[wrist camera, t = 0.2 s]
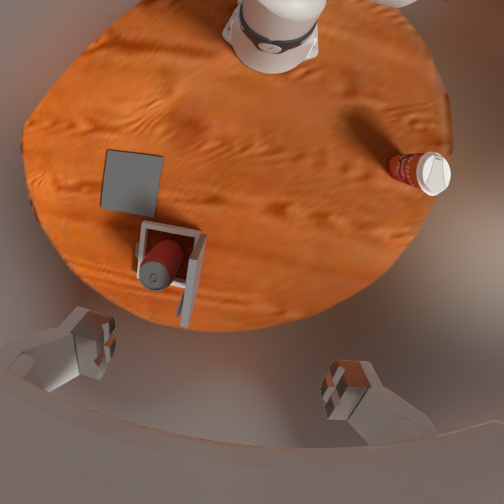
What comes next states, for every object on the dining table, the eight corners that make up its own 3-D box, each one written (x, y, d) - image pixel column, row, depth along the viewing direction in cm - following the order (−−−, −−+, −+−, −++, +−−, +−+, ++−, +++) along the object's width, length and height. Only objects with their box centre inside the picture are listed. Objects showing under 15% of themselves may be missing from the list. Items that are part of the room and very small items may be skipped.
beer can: (154, 267, 60) (137, 292, 48) (153, 237, 57) (134, 257, 46) (184, 269, 60) (173, 295, 49) (184, 238, 58) (172, 259, 47)
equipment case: (141, 219, 56) (109, 242, 41) (208, 232, 58) (197, 260, 43) (136, 273, 60) (108, 309, 45) (199, 286, 61) (187, 328, 46)
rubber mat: (109, 150, 51) (107, 150, 51) (163, 157, 52) (163, 157, 52) (102, 207, 55) (100, 208, 54) (154, 217, 56) (153, 217, 56)
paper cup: (384, 147, 53) (422, 148, 40) (414, 152, 54) (454, 156, 40) (382, 184, 56) (418, 194, 42) (411, 188, 56) (450, 199, 43)
